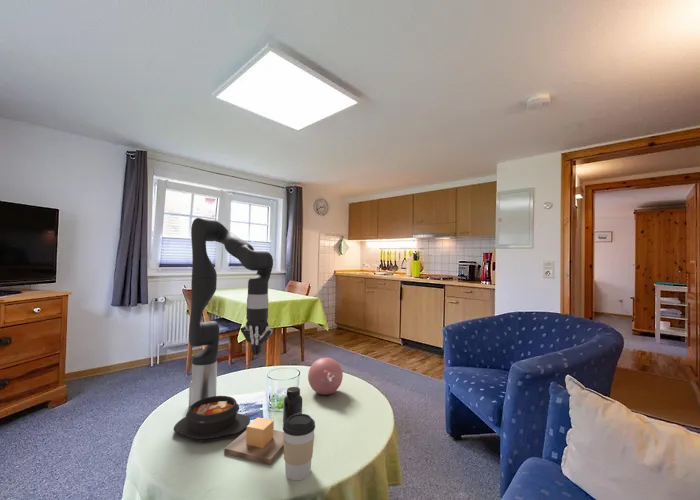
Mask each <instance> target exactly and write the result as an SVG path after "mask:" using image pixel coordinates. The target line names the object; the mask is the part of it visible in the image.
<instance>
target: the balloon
mask: <svg viewBox="0 0 700 500" xmlns="http://www.w3.org/2000/svg"><path fill="white" fill-rule="evenodd" d="M343 376H344V375H343V368H342V366H341V365H340V364H339V362H338V361H337V360H335V359H333V358H331V357H321V358H317V359H316V360H315V361H314V362H313V363H312V364H311V365H310V367H309V370H308V373H307V380H308V383H309V385H310V388H311V389H312V390H313V391H314V392H315V393H317V394H318V395H319V394H320V395H323V396H324V395H325V396H326V395H331V394H334V393H335V392H336V391H337V390H338V389H339V388H340V386H341V384H342V383H343Z"/></svg>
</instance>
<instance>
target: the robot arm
mask: <svg viewBox="0 0 700 500" xmlns="http://www.w3.org/2000/svg"><path fill="white" fill-rule="evenodd" d="M190 237H191V238H190V239H191V252H192V253H191V254H192V255H191V256H192V260H191V261H192V262H191V263H192V264H191V265H192V266H191V267H192V269H191V293H190V294H191V301H190V303H191V304H190V306H191V308H190V316H189V327H188V342H189V345H190V346H191V347H193V348H195V347H203V346H205V348H203V349H202V350H200V351H198V352H197V353H195V354H194V355H193V356H192V359H191V360H192V361H191V363H192V364H191V381H189V383H188V384H189V386H188V387H189V388H188V392H189V393H188V407H191V406H192V405H193V404H194V403H195V402H197V401H199V400H201V399H204V398H208V397H213V396H217V383H218V382H217V381H218V380H217V378H218V377H217V376H218V356H219V342H220V325H219V323H218V322H217V321H216V320H209V321H201V320H202V315H203V314H204V313H203V312H204V311H205V309H206V307H207V305H208V303H209V302H210V301H211V300H212V298H213V296H214V295H215V293H216V290H217V278H218V277H217V270H216V268H215V266H214V264H213V263H212V261H211V259H210V258H209V255H208V251H207V242H215V243H220V244H222V245H223V246H224V249H225V250H226V252H227V253H228V254H230V255H231V256H232V257H234V258H235V259H237V260H238V261H239V262H240V263H241V264H242V266H243V267H244V268H245V269H247V270H249V271H253V272H254V271H255V272H256V271H257V272H256V274H255V275H254V276H252V277H250V278H249V279H248V281H247V298H246V318H245V319H246V322H245V325H244V326H243V327H240V329H239V330H240V331H241V333H242V335H243V337H244V338H245V340H246V342H247V343H251V353H252V355H253V356H258V355H260V353H261V352H262V344H264V343H266V342H267V341H268V339H269V338H270V337H271V336H272V335H273V333H274V332H275V331H274V329H273V328H270V326H269V322H268V320H269V280H270V278H271V275H272V271H273V267H274V259H273V256H272V254H271V253H270V252H269V251H264V250H263V251H262V250H261V251H260V250H259V251H258V250H255V248H254V247H253V246H252V245H251V244H250V243H249V242H247V241H245V240H243V239H242V238H240V237H238V236H236V235H235V234H234V233H232V231H230V229H228V228H227V227H226V226H225V225H224V224H223V223H222V222H220V221H219V220H217V219H213V218H212V219H211V218H205V217H196V218H194V220H193V221H192V223H191V228H190Z"/></svg>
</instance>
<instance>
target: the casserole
mask: <svg viewBox="0 0 700 500" xmlns="http://www.w3.org/2000/svg"><path fill="white" fill-rule="evenodd" d="M239 410H240V406H239V404H238V402H237V400H236V399H235V398H234V397H232V396H228V395H216V396H213V397H208V398H204V399H201V400H199V401H197V402H195V403H194V404H193V405H192V406H189V409H188V411H187V412H186V414H185V416H184V417H183V418H181V419H180V420H179V421H178V422H177V423H175V424H174V426H173V431H174V432H175V433H178V434H181V435H183V436H186V437H188V438H190V439H197V440H208V439H214V438H218V437H219V438H220V437H223V436H230V435H235V434H238V433H239V434H240V432H242V431H244V430H245V429H247V426H248V425H249V424H250V423H251V418H250V416H249V415H247V414H243V413H242V414H241V413H238V412H239Z"/></svg>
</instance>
